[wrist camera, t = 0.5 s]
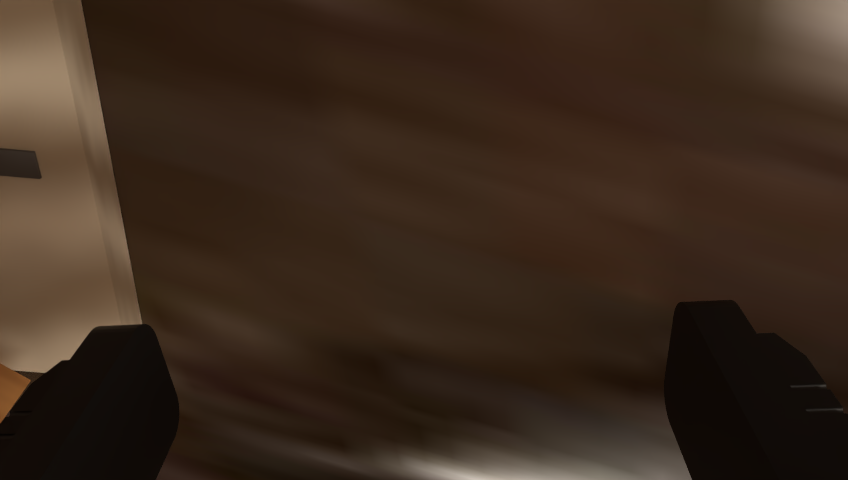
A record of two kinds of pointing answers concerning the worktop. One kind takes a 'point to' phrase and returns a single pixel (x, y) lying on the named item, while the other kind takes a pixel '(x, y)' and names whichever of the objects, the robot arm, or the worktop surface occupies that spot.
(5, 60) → the level stand
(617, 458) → the worktop surface
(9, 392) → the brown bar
